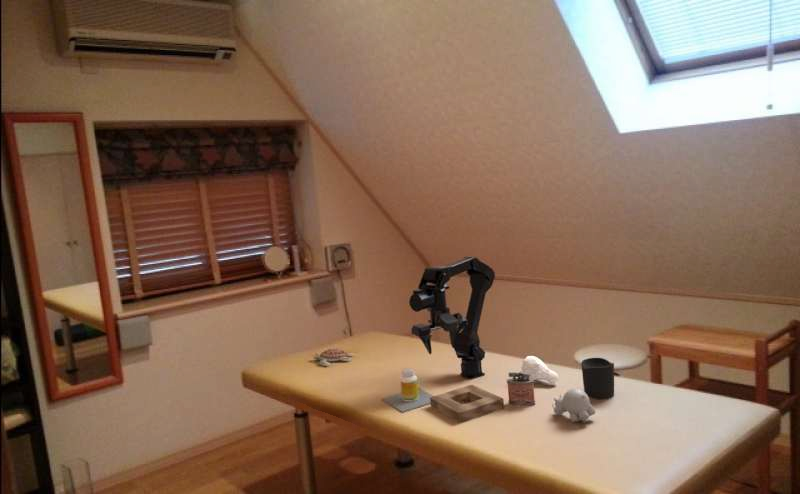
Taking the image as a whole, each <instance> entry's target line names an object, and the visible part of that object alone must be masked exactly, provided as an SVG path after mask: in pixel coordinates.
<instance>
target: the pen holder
mask: <svg viewBox="0 0 800 494" xmlns="http://www.w3.org/2000/svg"><path fill="white" fill-rule="evenodd" d="M581 374H582V382H583V391H584V392H585V393H586V394H587V395H588V397H589V398H590V397H591V398H590V399H594V398H596V399H597V400H604V399H603V398H607V399H610V398H612V397H613V396H614V395H615V363H614V362H612V361H611V362H610V361H609V360H607V359H605V358H604V357H589V358H586V359H585V358H584V359H583V360H582V361H581ZM611 396H612V397H611ZM609 397H610V398H609Z"/></svg>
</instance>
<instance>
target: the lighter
mask: <svg viewBox="0 0 800 494" xmlns="http://www.w3.org/2000/svg"><path fill="white" fill-rule="evenodd" d="M525 377H526V378H525ZM534 381H535V380H533V379H529V373H523V371H522V370H520V371H519V372H517V371H509V372H508V378H507V379H506V383H507V395H508V401H507V402H508V403H507V404H508V405H510V406H515V407H533V406H535V405H536V400H535V391H534V390H535V388H534V383H535V382H534Z"/></svg>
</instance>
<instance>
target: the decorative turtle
mask: <svg viewBox="0 0 800 494" xmlns="http://www.w3.org/2000/svg"><path fill="white" fill-rule="evenodd" d="M349 356H355V353H354V352H347V351H345V350H343V349H339V348H330V349H329V348H328V349H326V350H323V351H322V352H321V353H315V355H314V356H313V357H312V358H313V359H314V360H315V361H319V365H320V366H325V367H326V366H331V365H332V362H339V361H346V362H347V361H351V360H352V358H351V357H349Z"/></svg>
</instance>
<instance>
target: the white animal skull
mask: <svg viewBox="0 0 800 494" xmlns="http://www.w3.org/2000/svg"><path fill="white" fill-rule="evenodd" d="M521 364H522V366H521V371H522V372H523V373H529V379H533V380H534V381H536V380H538V381H540V380H541V381H542V380H543V381H547V384H548V386H554V385H556V383H557V382H558V381H559V375H558V374H557V373H556V372H555V371H554V370H551V369H549V367H548V366H547V365H546V364H545V363H544V362H543V361H542V359H540V358H538V357H537V356H534V355H528V356H526V357H525V358H524V359H523V360H522V363H521ZM525 378H526V377H525Z"/></svg>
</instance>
